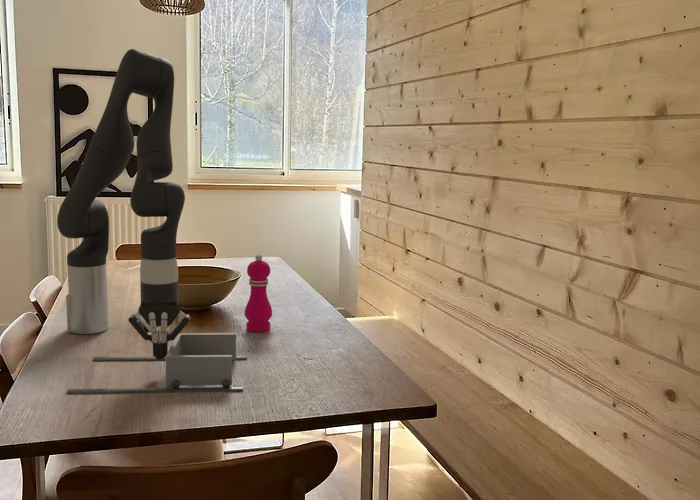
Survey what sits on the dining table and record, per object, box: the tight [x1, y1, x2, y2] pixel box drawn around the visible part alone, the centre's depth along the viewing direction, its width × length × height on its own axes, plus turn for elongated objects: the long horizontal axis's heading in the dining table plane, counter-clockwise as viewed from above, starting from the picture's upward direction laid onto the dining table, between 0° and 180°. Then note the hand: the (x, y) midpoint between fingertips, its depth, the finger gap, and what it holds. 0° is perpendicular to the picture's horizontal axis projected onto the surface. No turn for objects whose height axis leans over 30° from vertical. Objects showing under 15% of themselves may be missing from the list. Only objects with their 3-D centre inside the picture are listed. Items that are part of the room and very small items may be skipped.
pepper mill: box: [244, 254, 273, 333], centre depth 176 cm, size 7×7×20 cm
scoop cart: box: [165, 332, 237, 388], centre depth 143 cm, size 13×18×6 cm
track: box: [66, 355, 248, 394], centre depth 143 cm, size 34×20×1 cm, turn 96°
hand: (160, 358), depth 142 cm, fingers closed
